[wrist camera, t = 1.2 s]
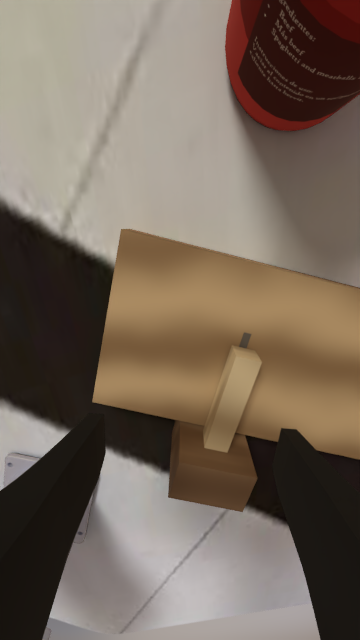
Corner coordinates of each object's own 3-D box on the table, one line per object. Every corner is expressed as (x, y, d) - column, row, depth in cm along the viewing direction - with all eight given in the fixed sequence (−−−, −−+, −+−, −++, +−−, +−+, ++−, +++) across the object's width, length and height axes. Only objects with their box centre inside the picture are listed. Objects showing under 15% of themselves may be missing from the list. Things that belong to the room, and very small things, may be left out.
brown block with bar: (225, 452, 24) (237, 522, 18) (169, 440, 24) (164, 508, 18) (268, 339, 21) (299, 383, 15) (203, 324, 20) (210, 362, 15)
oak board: (445, 458, 24) (474, 484, 21) (102, 382, 22) (92, 402, 19) (535, 333, 20) (583, 347, 18) (129, 228, 18) (121, 229, 16)
